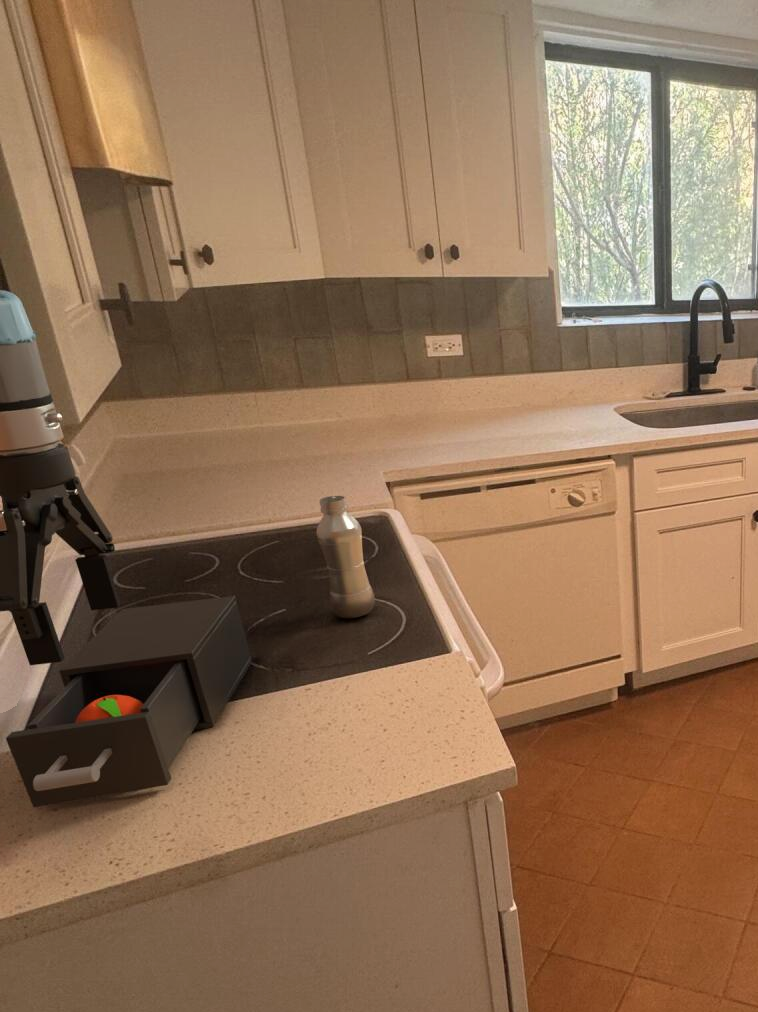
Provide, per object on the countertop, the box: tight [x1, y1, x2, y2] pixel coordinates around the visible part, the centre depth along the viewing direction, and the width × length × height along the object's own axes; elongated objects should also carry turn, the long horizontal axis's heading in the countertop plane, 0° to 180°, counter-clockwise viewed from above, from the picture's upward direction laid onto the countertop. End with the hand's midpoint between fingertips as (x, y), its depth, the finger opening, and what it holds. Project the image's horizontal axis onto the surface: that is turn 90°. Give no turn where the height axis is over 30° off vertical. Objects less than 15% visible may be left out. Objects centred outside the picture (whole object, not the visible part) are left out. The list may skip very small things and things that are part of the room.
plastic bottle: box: [315, 495, 376, 619], centre depth 126 cm, size 6×7×20 cm
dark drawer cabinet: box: [58, 595, 253, 731], centre depth 103 cm, size 18×14×11 cm
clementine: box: [75, 695, 143, 723], centre depth 89 cm, size 8×7×7 cm
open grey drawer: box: [5, 659, 203, 809], centre depth 89 cm, size 22×12×9 cm, turn 17°
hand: (79, 633), depth 87 cm, fingers open, 13 cm apart
